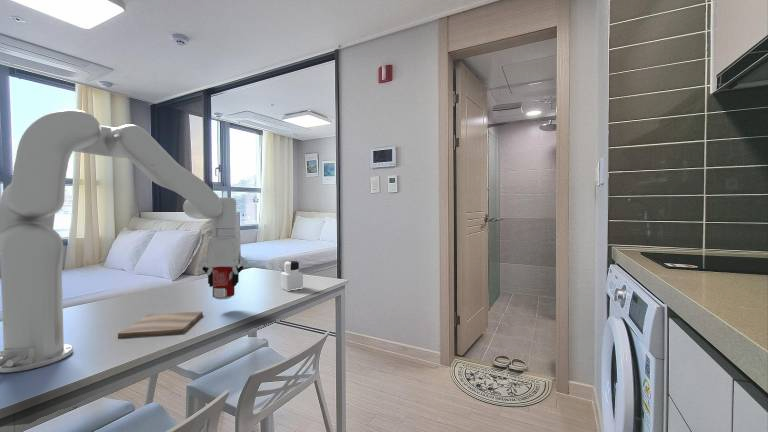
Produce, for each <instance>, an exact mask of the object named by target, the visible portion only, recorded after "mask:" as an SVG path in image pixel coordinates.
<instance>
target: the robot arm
mask: <svg viewBox="0 0 768 432" xmlns="http://www.w3.org/2000/svg"><path fill="white" fill-rule="evenodd" d="M73 152H75V153H81V154H89V155H96V156H101V157H103V156H104V157H111V158H120V159H121V158H124V159H126V158H127V159H128V160H129V161H130V162H132V163H133V165H134V166H135V167H137V169H139V170H140V171H141V172H142V173H143V174H144V175H145V176H146V177H147V178H148V179H149V180H150V181H152V182H153V183H154V184H157V186H159V187H163V188H166V189H168V190H170V191H172V192H175V193H177V194H178V195H179V196H181V197H182V198H184V199H186V200H185V201H184V203H183V204H182V209H183V213H184V214H185V215H186V216H188V217H189V218H192V219H197V220H203V219H204V220H211V228H210V229H207V230H206V234H207V235H210V236H211V237H208V239H207V245H206V252H205V253H206V254H205V257H204V258H202V259H201V260H200V261H199V262H198V263H197V265H198V266H199V268H201V269H202V271H203V272H205V274H206V275H207V284H208V286H209V288H213V268H216V267H232V269H233V272H234V274H233V286H235V287H236V286H237V284H238V283H239V281H240V280H239V279H240V278H239V276H240V275H239V274H240V273H241V272H242V271H243V270H244V269H245V268H246V267H247V266H248V265H249V261H248V260H247V259H245V257H243V256H242V255H241V248H240V241H239V237H237V201H236V199H235V198H233V197H225V196H224V197H223V196H222V197H219V195H218V194H217V193H216V192H215V191H214V190H213V189H212V188H211V187H210V186H209V185H208V184H207V183H206V182H205V181H203V180H202V179H201V178H200V177H198V176H197V175H195V174H193V172H191V171H189V169H187V168H185V167H184V166H182V165H180V163H178V162H177V161H176V159H174V158H173V157H172V156H171V155H170V154H169V153H168V152H167V150H166V149H164V148H163V147H162V145H161V144H160V143H159V142H158V141H157V140H156V139H155V138H154V137H153V136H152V135H151V134H150V133H148V131H147V130H145V129H144V128H143V127H141V125H140V126H139V125H137V124H124V125H120V126H117V127H112V126H106V125H101V124H100V122H99V120H98V119H97V117H95V116H94V115H92V114H91V113H89V112H87V111H84V110H79V109H64V110H57V111H54V112H50V113H48V114H45V115H43V116H41V117H39V118H37V119H36V120H35V121H33V122H32V123H31V124H30V125H29V126H28V127H27V128H26V129H25V131H24V132H23V134H22V135H21V136H20V139H19V142H18V146H17V149H16V155H15V161H14V164H13V169H12V170H13V171H12V177H11V182H10V183H9V184H8V185H7V186H6V187H5V188H4V190H3V192H2V194H1V196H0V259H1V266H0V267H1V269H0V271H1V276H0V277H1V278H0V279H1V280H0V286H1V288H0V289H1V307H2V308H1V309H2V313H1V314H2V338H3V339H2V340H3V341H2V342H3V346H2V347H3V348H2V349H0V373H2V374H3V373H4V374H5V373H16V372H17V373H18V372H22V371H23V372H24V371H27V370H28V371H29V370H34V369H37V368H41V367H44V366H45V367H46V366H47V365H51V364H55V363H56V362H59V361H61V360H63V359H65V358H67V357H69V356H70V355H71V354H72V353H73V350H74V349H73V348H74V347H73V345H71V344H68V343H65V342H64V311H63V310H64V307H63V304H64V303H63V302H64V301H63V295H64V294H63V259H64V242H63V239H62V237H61V235H60V234H59V233H58V232H57V231H56V230H55V229H54V225H55V218H56V217H55V215H56V214H57V213H58V212H59V211H60V210H61V209H62V208H63V206H64V203H65V190H66V189H65V188H66V181H67V173H68V167H69V162H70V158H71V157H72V156H71V155H72V154H73ZM241 263H242V264H241ZM240 264H241V265H240ZM239 265H240V266H239Z"/></svg>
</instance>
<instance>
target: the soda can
mask: <svg viewBox="0 0 768 432" xmlns="http://www.w3.org/2000/svg"><path fill="white" fill-rule="evenodd" d="M233 274H234V272H233V269H232V267H216V268H213V286H212V298H213V299H216V300H219V301H220V300H229V299H231V298H232V297H234V296H235V289H236V288H235V287H236V286H233Z"/></svg>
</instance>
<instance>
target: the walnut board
mask: <svg viewBox="0 0 768 432" xmlns="http://www.w3.org/2000/svg"><path fill="white" fill-rule="evenodd" d="M202 316H203V311H190V312H186V311H185V312H170V313H169V312H166V313H152V314H146V316H143V317H142V318H140V319H139V320H137V321H136V322H134V323H133V324H131V325H129V326H128V327H126V328H125V329H122V330H120V332H117V338H119V339H123V338H133V337H134V338H135V337H137V338H138V337H149V336H162V335H163V336H164V335H176V334H177V335H178V334H184V333H185V332H186V331H188V329H189V328H190V327H191V326H193V325H194V324H195V323H196V322H197V321H198V320H199V319H200V318H202Z"/></svg>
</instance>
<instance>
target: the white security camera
mask: <svg viewBox="0 0 768 432" xmlns="http://www.w3.org/2000/svg"><path fill="white" fill-rule="evenodd" d="M283 266H284V267H283V268H284V269H283V270H284V272H280V288H281V287H282V288H284V289H286V290H291V289H296V288H301V287H303V288H304V282H303V281H304V274H303V272H300V264H299V261H297V260H289V261H288V260H287V261H285V262H284V265H283Z"/></svg>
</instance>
